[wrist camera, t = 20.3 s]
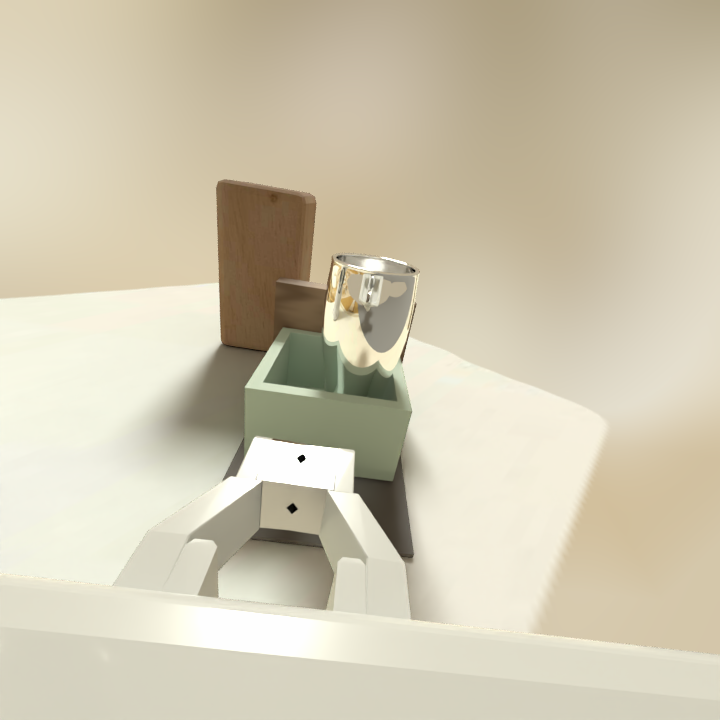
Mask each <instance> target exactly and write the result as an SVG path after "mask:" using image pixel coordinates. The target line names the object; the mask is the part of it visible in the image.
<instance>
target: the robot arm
mask: <svg viewBox="0 0 720 720" xmlns="http://www.w3.org/2000/svg"><path fill="white" fill-rule="evenodd" d="M354 464H355V451H354V450H350V449H342V448H338V449H337V448H333V447H326V446H319V445H312V444H304V443H298V442H293V441H287V440H281V439H275V438H273V439H272V438H267V437H261V436H255V437H254V439H253V440H252V442H251V445H250V447H249V449H248V451H247V453H246V456H245V458H244V460H243V462H242V464H241V466H240V469H239V471H238V473H237V475H236V477H232V476H230V477H229V478H227V479H226V480H224V481H223V482H221V483H219V484H218V485H216V486H215V487H213V488H212V489H210V490H209V491H207V492H206V493H204V494H203V495H201V496H200V497H198V498H197V499H195V500H194V501H192V502H191V503H189V504H188V505H186V506H185V507H183V508H182V509H180V510H178V511H177V512H175V513H174V514H172V515H171V516H169V517H168V518H166V519H165V520H163V521H162V522H160V523H159V524H157V525H156V526H154V527H153V528H151V529H150V530H148V531H147V533H146V534H145V536H144V537H143V539H142V541H141V542H140V544H139V545H138V547H137V548H136V550H135V551H134V553H133V554H132V556H131V558H130V559H129V561H128V562H127V564H126V565H125V567H124V568H123V570H122V571H121V573H120V574H119V576H118V578H117V579H116V581H115V582H114V584H113V585H112V586H110V585H101V584H92V583H83V582H75V581H66V580H57V579H48V578H39V577H31V576H22V575H13V574H4V573H0V720H720V655H718V654H709V653H700V652H691V651H682V650H674V649H665V648H655V647H647V646H638V645H630V644H620V643H611V642H603V641H594V640H586V639H577V638H568V637H559V636H550V635H542V634H533V633H524V632H515V631H506V630H498V629H489V628H480V627H471V626H462V625H454V624H445V623H436V622H427V621H419V620H411V614H410V604H409V595H408V586H407V576H406V567H405V563H404V561H403V560H402V558H401V557H400V555H399V554H398V552H397V551H396V549H395V548H394V546H393V545H392V543H391V542H390V540H389V539H388V537H387V536H386V534H385V533H384V531H383V530H382V528H381V527H380V525H379V524H378V522H377V521H376V519H375V518H374V517H373V515H372V514H371V512H370V511H369V509H368V508H367V506H366V505H365V503H364V502H363V500H362V499H361V497H360V496H359V494H355V493H353V491H354ZM259 527H262V528H272V529H282V530H291V531H297V532H303V533H310V534H316V535H319V538H320V540H321V543H322V545H323V547H324V550H325V552H326V555H327V557H328V560H329V562H330V565H331V567H332V569H333V572H334V574H335V575H334V579H333V583H332V587H331V591H330V595H329V599H328V603H327V607H326V610H321V609H313V608H304V607H295V606H286V605H277V604H268V603H260V602H251V601H242V600H233V599H224V598H218V571H219V570H220V569H221V568H222V567H223V565H224V564H225V563H226V562H227V561H228V560H229V559H230V558H231V557H232V556H233V555H234V554H235V553H236V552H237V551H238V550H239V549H240V548H241V547H242V546H243V545H244V544H245V543H246V542H247V541H248V540H249V539H250V538H251V537H252V536H253V535H254V534H255V533H256V532H257V531H258V530H259Z"/></svg>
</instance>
